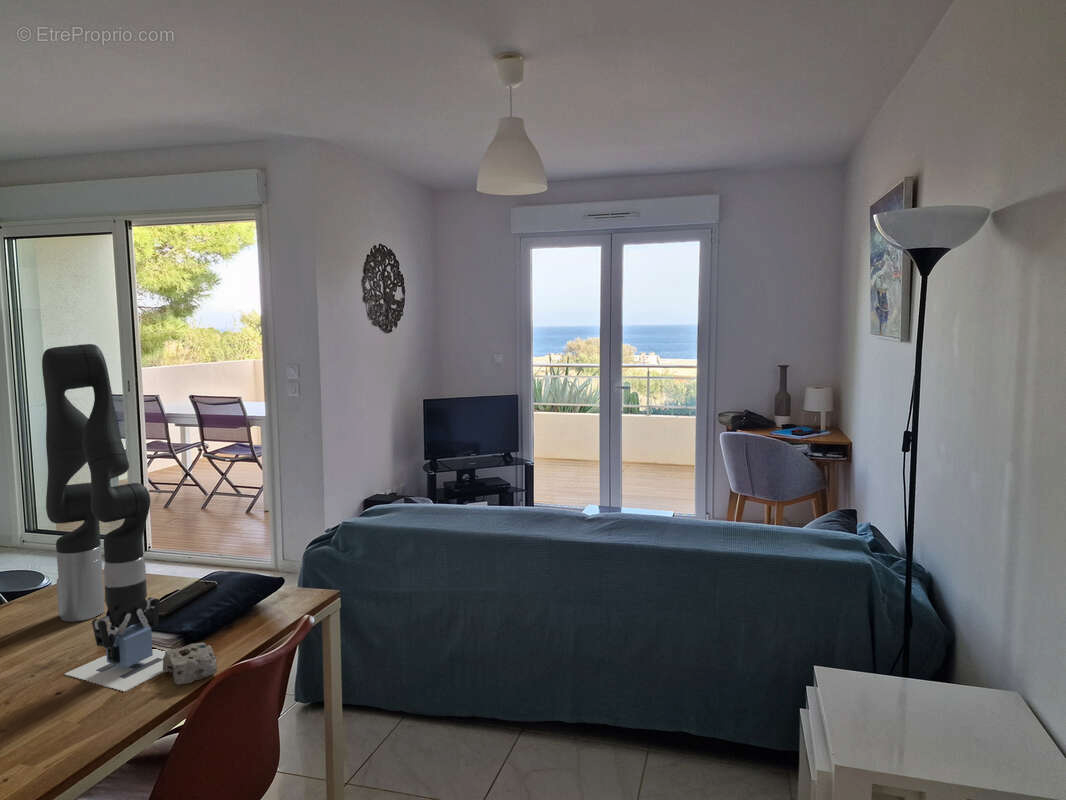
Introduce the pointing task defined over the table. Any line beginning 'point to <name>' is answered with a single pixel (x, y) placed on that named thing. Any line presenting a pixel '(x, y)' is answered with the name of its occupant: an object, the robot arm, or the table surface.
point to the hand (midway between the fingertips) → (129, 655)
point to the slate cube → (134, 645)
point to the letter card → (120, 672)
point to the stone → (190, 662)
